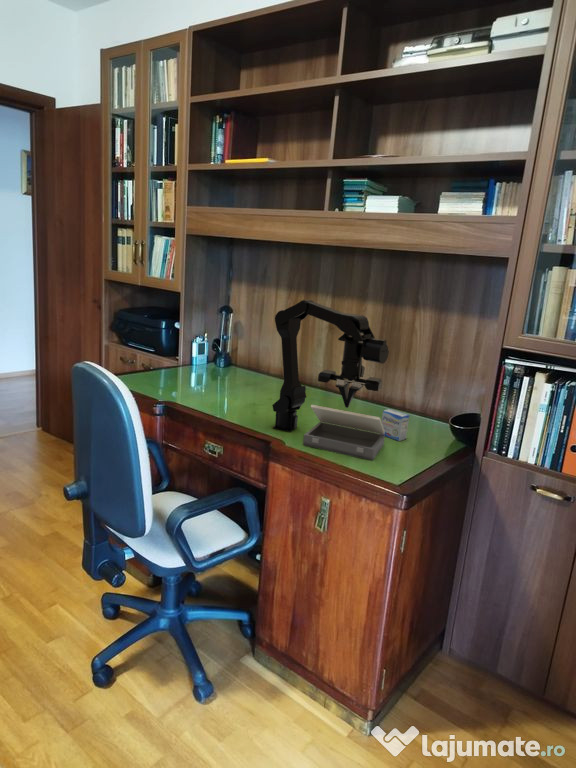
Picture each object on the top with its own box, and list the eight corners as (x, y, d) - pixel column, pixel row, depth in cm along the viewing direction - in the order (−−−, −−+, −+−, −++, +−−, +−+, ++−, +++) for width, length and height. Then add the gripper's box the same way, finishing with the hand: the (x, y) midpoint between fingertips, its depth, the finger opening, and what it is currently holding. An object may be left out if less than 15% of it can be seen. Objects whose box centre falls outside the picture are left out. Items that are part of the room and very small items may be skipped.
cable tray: (302, 446, 162) (303, 435, 161) (318, 431, 176) (319, 421, 176) (372, 461, 155) (373, 450, 154) (383, 445, 169) (384, 434, 168)
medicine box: (379, 434, 179) (382, 410, 176) (386, 432, 182) (390, 408, 180) (398, 441, 173) (402, 416, 171) (406, 439, 176) (409, 414, 174)
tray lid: (310, 406, 163) (311, 404, 163) (320, 421, 175) (320, 419, 176) (379, 419, 156) (379, 417, 156) (384, 434, 168) (384, 432, 168)
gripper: (388, 357, 162) (382, 406, 165) (330, 349, 168) (326, 396, 172) (381, 363, 151) (374, 415, 155) (319, 354, 158) (315, 404, 162)
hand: (347, 407), depth 161 cm, fingers closed
